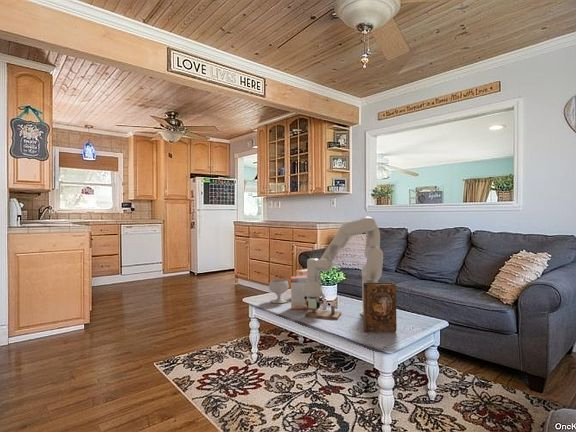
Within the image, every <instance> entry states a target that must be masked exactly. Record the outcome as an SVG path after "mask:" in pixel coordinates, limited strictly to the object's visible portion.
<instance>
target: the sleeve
mask: <svg viewBox="0 0 576 432" xmlns="http://www.w3.org/2000/svg"><path fill="white" fill-rule="evenodd" d="M319 308H320V307H319ZM319 308H318V309H317V298H315V297H310V298H308V309H307V311H309V310H314V311H317V310H320V309H319Z"/></svg>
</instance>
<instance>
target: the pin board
mask: <svg viewBox="0 0 576 432" xmlns="http://www.w3.org/2000/svg"><path fill="white" fill-rule="evenodd" d="M335 306H336V305H330V310H325V309H318V310H317V311H314V310H307V312H305V314H304V317H305V318H311V319H313V318H314V319H322V320H334V321H335V320H336V321H338V319H340V317H341V316H342V311H335Z"/></svg>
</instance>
